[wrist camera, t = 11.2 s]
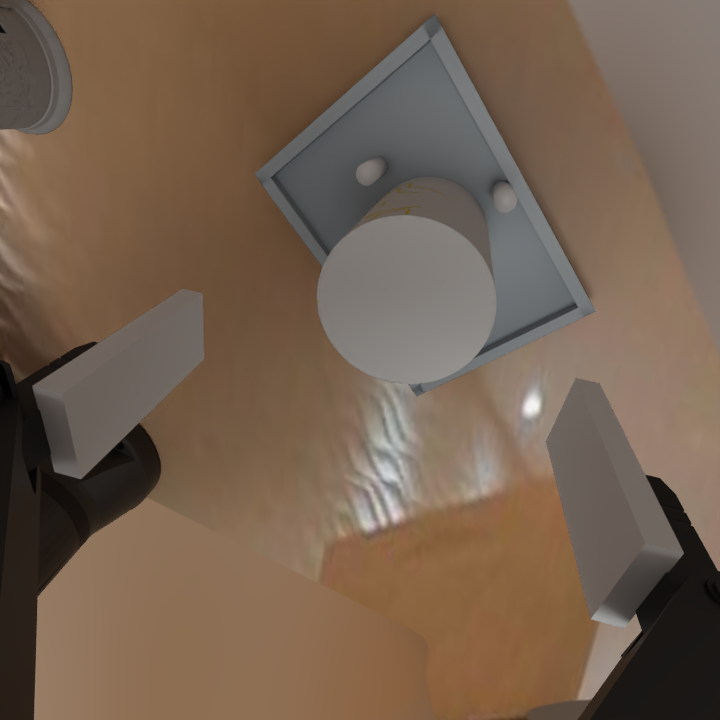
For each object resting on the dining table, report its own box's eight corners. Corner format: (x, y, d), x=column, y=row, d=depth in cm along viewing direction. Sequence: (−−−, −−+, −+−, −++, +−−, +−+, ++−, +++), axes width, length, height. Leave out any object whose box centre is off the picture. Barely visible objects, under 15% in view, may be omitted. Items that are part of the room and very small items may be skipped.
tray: (265, 170, 32) (232, 181, 28) (437, 19, 26) (430, 2, 22) (419, 382, 38) (412, 420, 33) (588, 300, 32) (608, 332, 27)
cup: (425, 147, 28) (398, 171, 18) (514, 238, 30) (537, 308, 19) (344, 242, 32) (284, 306, 22) (426, 318, 34) (406, 412, 23)
